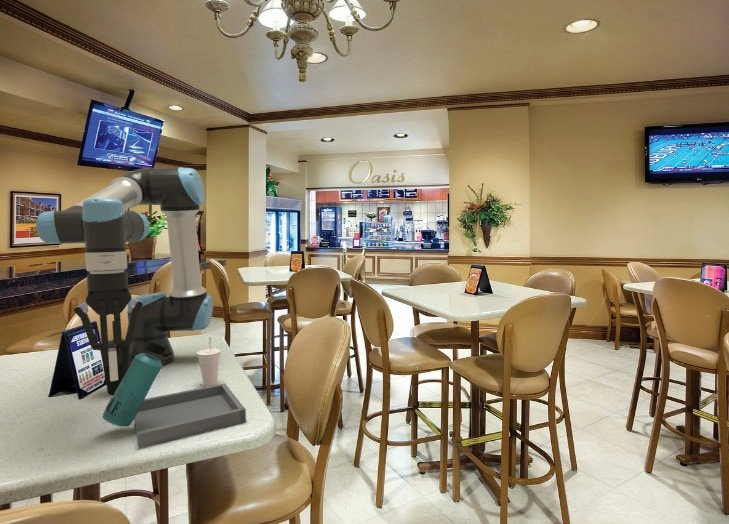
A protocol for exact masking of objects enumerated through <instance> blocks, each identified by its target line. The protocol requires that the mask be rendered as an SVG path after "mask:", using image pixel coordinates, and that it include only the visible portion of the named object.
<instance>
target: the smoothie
mask: <svg viewBox="0 0 729 524" xmlns="http://www.w3.org/2000/svg"><path fill="white" fill-rule="evenodd" d="M208 346H209V347H208V348H205V349H202V350H199V351H197V352H196V354H197V355H196V357H197V358H198V363H199V367H200V374H201V379H202V384H203V386H204V387H208V386H213V385H218V376H219V366H220V364H219V361H220V355H221V349H219V348H212V336H208Z"/></svg>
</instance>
